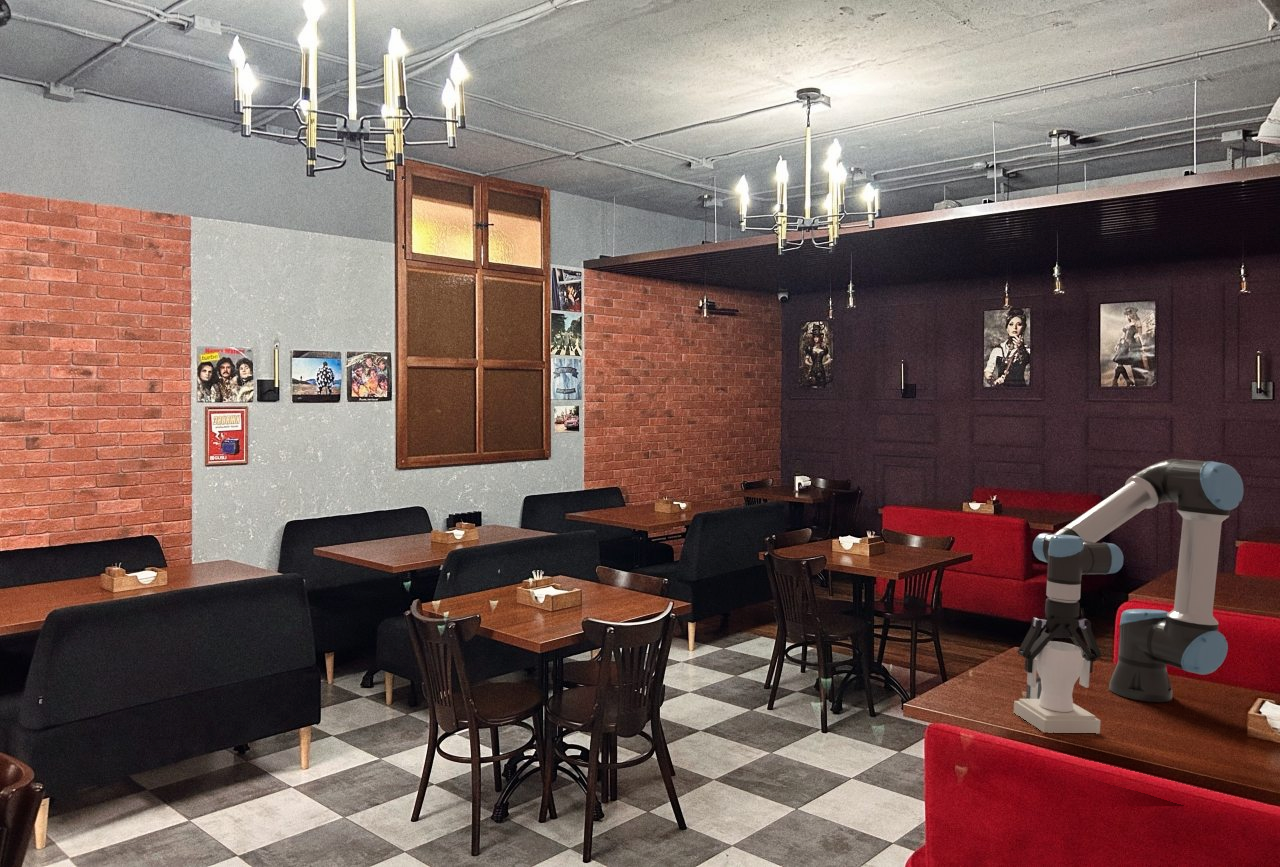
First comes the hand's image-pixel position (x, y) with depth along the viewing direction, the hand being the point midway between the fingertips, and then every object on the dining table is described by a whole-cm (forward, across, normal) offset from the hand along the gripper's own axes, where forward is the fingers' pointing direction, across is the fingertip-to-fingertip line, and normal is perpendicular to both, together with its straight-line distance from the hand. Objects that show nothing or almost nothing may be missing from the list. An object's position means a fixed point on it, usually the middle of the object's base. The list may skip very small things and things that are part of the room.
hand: (1057, 685), depth 225 cm
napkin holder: (+9, -5, -13) cm, 17 cm away
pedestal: (+9, 0, 0) cm, 9 cm away
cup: (+5, 0, 0) cm, 5 cm away
